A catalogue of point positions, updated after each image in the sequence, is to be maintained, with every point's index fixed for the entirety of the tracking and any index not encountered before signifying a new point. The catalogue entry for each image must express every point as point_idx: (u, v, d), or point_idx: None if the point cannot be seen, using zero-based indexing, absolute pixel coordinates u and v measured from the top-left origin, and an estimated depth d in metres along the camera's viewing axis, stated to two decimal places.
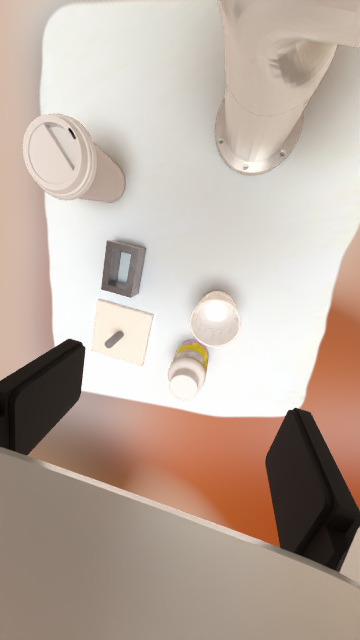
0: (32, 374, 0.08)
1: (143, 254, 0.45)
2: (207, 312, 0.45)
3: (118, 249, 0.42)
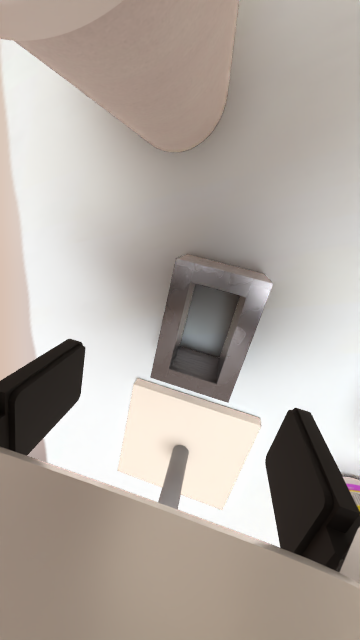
0: (32, 374, 0.08)
1: None
2: None
3: (208, 283, 0.15)
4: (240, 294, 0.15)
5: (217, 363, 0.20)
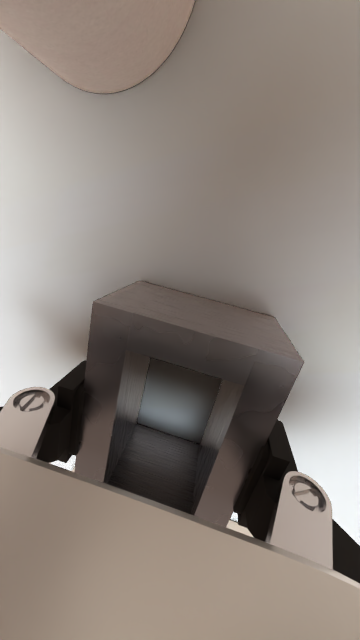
0: None
1: None
2: None
3: (163, 354, 0.07)
4: (231, 379, 0.07)
5: (195, 461, 0.12)
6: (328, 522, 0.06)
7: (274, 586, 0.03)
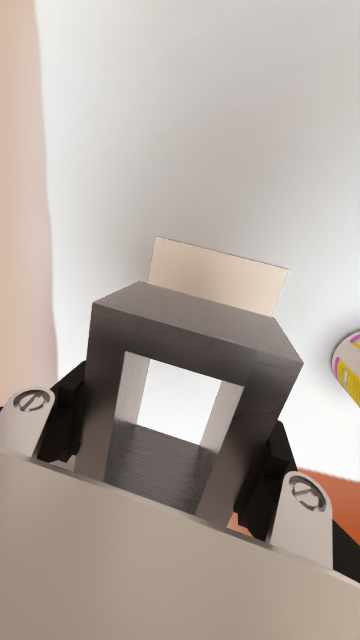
0: None
1: None
2: None
3: (163, 355, 0.07)
4: (231, 380, 0.07)
5: (195, 461, 0.12)
6: (328, 522, 0.06)
7: (274, 586, 0.03)
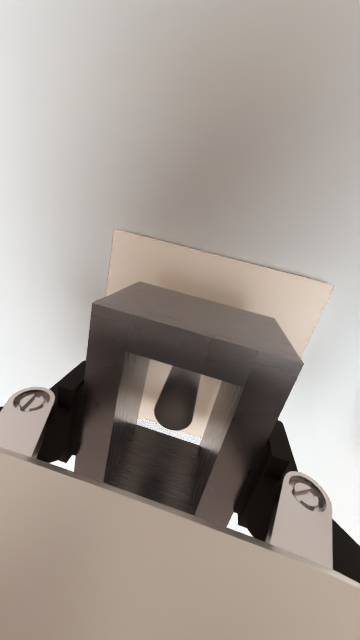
0: None
1: None
2: None
3: (162, 356, 0.07)
4: (231, 380, 0.07)
5: (195, 462, 0.12)
6: (328, 522, 0.06)
7: (274, 586, 0.03)
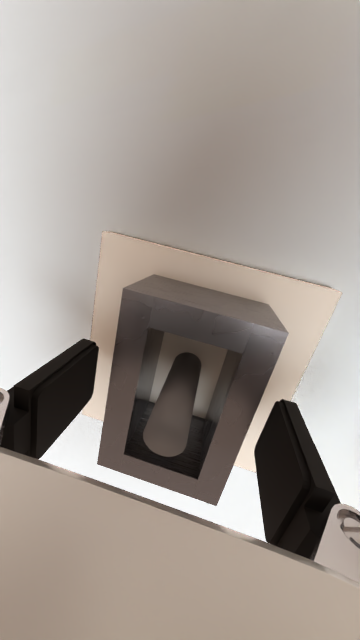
0: (52, 373, 0.08)
1: None
2: None
3: (178, 329, 0.09)
4: (232, 348, 0.09)
5: (201, 431, 0.14)
6: None
7: (274, 586, 0.03)
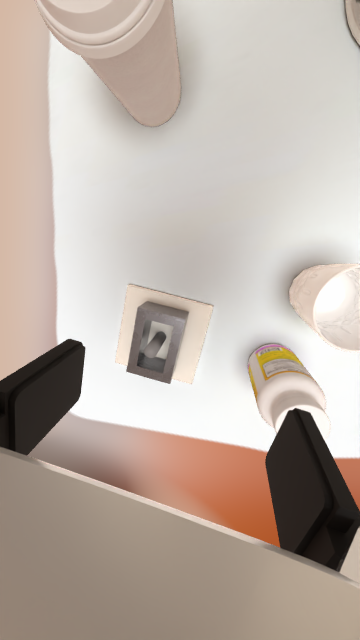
0: (32, 374, 0.08)
1: (186, 321, 0.32)
2: None
3: (154, 319, 0.29)
4: (170, 325, 0.29)
5: None
6: None
7: (274, 586, 0.03)
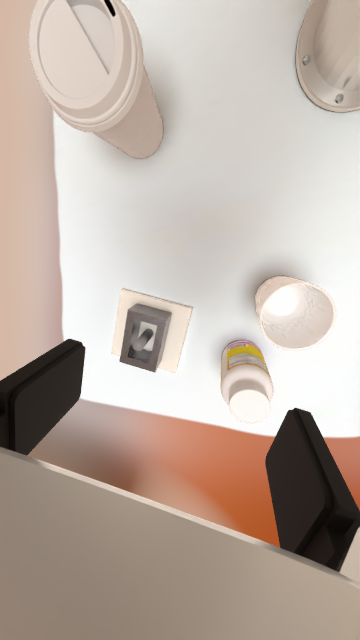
0: (32, 374, 0.08)
1: (169, 320, 0.38)
2: (267, 304, 0.35)
3: (141, 319, 0.35)
4: (154, 324, 0.35)
5: None
6: None
7: (274, 586, 0.03)
